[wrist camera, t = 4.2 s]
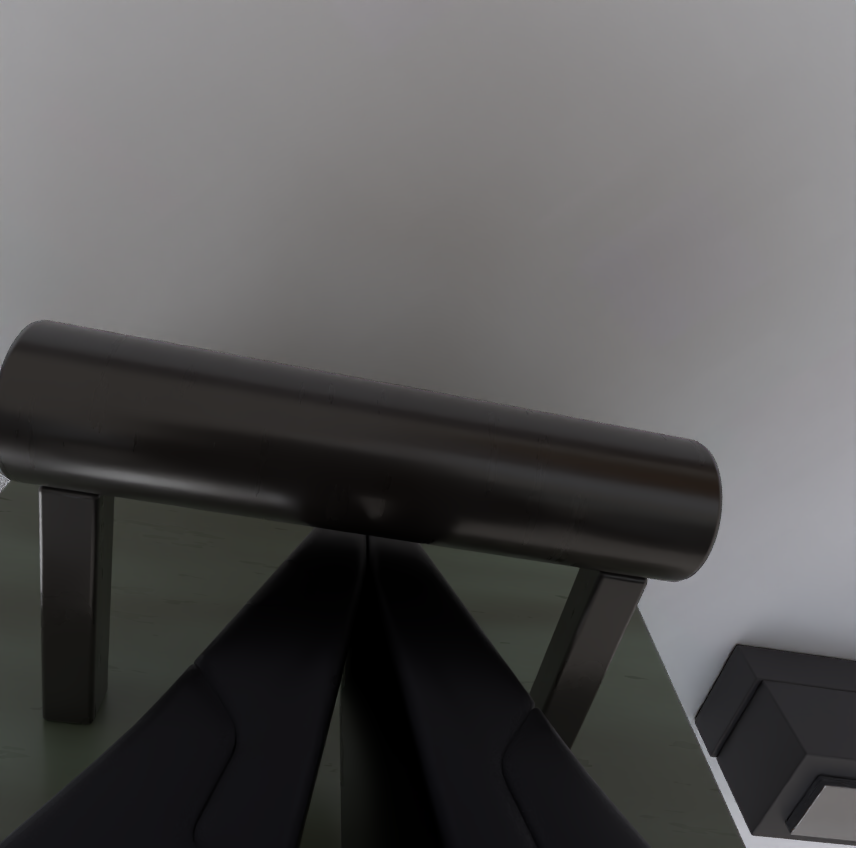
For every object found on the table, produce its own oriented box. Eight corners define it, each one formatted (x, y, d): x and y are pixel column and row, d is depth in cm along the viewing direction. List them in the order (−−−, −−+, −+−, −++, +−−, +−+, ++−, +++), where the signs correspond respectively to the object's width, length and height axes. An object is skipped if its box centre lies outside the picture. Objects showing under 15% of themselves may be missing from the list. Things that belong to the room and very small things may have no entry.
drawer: (56, 165, 12) (-525, 379, 4) (682, 300, 14) (1061, 627, 6) (58, 842, 20) (-143, 1336, 13) (452, 875, 22) (489, 1329, 14)
